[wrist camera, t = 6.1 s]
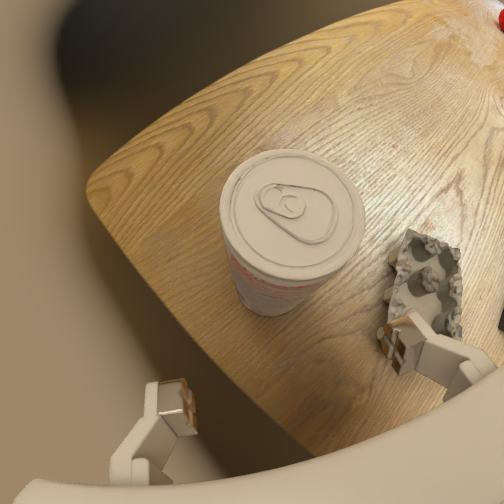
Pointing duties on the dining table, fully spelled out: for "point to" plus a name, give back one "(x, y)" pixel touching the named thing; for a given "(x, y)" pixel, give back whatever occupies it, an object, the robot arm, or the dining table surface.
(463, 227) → the dining table surface
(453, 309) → the egg carton
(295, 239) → the beverage can
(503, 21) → the tomato
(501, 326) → the scale
